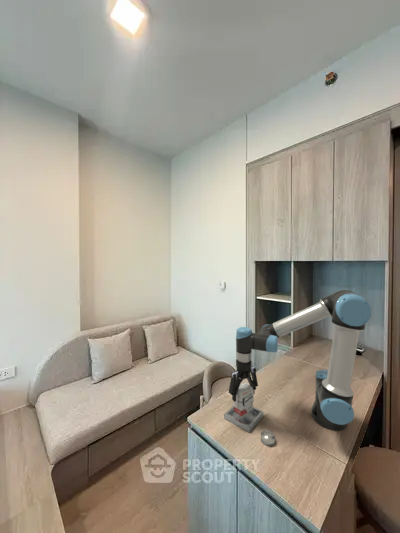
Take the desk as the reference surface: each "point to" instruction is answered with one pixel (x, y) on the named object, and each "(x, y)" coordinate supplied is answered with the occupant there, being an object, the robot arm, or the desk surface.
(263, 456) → the desk surface
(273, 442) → the shiny grey rounded piece
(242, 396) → the ink box
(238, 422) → the square metal tray
